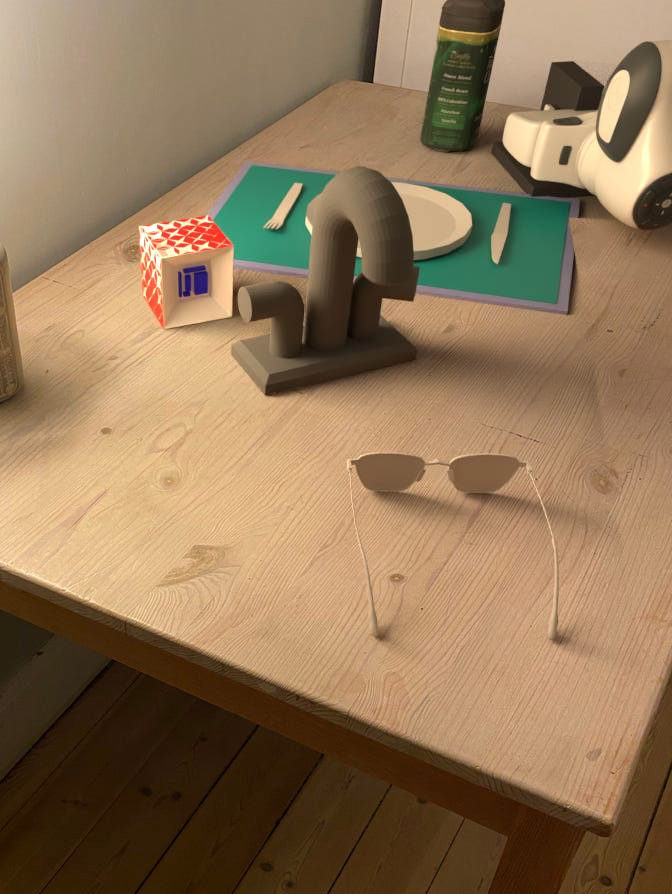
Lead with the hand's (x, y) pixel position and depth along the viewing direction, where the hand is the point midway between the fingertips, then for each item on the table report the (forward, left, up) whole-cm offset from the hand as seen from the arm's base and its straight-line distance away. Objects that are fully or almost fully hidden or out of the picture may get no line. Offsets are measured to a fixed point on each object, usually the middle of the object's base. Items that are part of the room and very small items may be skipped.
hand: (564, 109), depth 124 cm
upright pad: (0, +1, -5) cm, 6 cm away
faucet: (+24, +57, -8) cm, 62 cm away
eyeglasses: (+13, +83, -8) cm, 84 cm away
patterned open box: (+42, +46, -8) cm, 62 cm away
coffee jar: (+14, -8, -8) cm, 18 cm away
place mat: (+21, +23, -8) cm, 32 cm away
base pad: (0, +1, -8) cm, 8 cm away
